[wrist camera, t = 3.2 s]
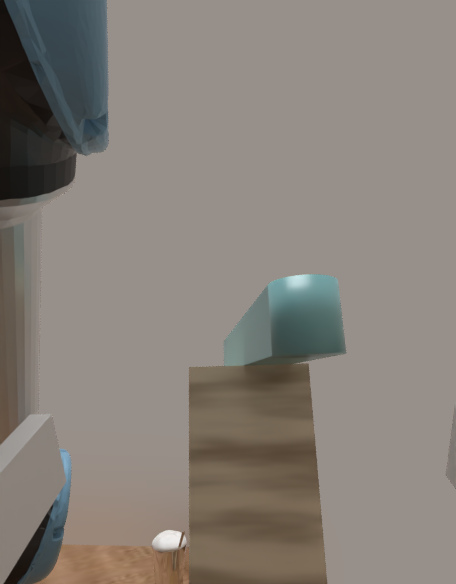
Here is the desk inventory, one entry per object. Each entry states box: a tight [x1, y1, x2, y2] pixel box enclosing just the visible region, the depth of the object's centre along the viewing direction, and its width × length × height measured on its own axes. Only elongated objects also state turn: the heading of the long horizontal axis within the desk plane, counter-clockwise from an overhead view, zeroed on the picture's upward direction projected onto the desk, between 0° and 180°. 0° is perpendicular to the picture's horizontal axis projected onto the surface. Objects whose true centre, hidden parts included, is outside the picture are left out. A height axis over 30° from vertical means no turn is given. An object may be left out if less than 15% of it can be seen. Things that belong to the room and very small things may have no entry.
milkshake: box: [152, 530, 186, 584], centre depth 46 cm, size 4×5×10 cm
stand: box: [189, 363, 327, 584], centre depth 34 cm, size 18×10×30 cm, turn 177°
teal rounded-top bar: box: [224, 274, 346, 366], centre depth 33 cm, size 33×4×4 cm, turn 6°
